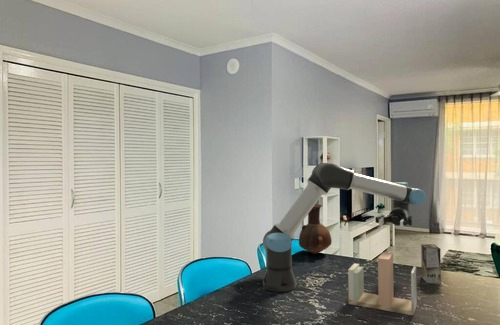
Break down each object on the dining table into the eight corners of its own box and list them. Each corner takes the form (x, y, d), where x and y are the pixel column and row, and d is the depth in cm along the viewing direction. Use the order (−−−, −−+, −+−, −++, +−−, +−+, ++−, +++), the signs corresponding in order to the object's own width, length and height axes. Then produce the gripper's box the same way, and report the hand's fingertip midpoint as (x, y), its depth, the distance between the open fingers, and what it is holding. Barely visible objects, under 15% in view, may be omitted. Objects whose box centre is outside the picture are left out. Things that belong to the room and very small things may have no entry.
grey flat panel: (411, 310, 134) (411, 272, 134) (414, 301, 143) (413, 265, 143) (413, 311, 134) (413, 273, 133) (416, 301, 142) (416, 266, 142)
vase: (292, 250, 232) (292, 203, 232) (321, 247, 237) (320, 202, 237) (307, 260, 208) (307, 208, 208) (339, 257, 213) (338, 206, 213)
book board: (348, 303, 145) (348, 299, 145) (355, 294, 155) (355, 291, 155) (413, 315, 133) (413, 311, 133) (416, 305, 143) (416, 301, 143)
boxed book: (378, 304, 140) (377, 258, 140) (383, 296, 148) (382, 252, 148) (389, 306, 138) (388, 259, 138) (393, 297, 146) (392, 253, 146)
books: (348, 299, 146) (348, 269, 145) (354, 291, 154) (354, 263, 154) (358, 301, 144) (357, 271, 144) (363, 292, 152) (363, 264, 152)
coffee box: (441, 283, 166) (441, 248, 166) (426, 283, 167) (425, 248, 167) (435, 277, 175) (435, 244, 175) (421, 276, 176) (420, 243, 176)
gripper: (421, 225, 169) (417, 234, 149) (375, 222, 179) (365, 230, 160) (421, 209, 169) (416, 216, 149) (375, 207, 179) (365, 213, 160)
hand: (390, 223), depth 154 cm, fingers open, 8 cm apart
